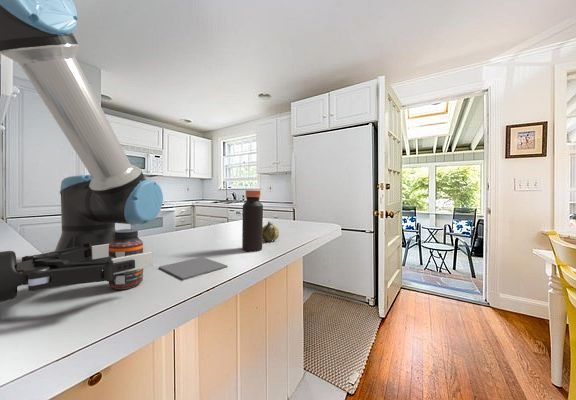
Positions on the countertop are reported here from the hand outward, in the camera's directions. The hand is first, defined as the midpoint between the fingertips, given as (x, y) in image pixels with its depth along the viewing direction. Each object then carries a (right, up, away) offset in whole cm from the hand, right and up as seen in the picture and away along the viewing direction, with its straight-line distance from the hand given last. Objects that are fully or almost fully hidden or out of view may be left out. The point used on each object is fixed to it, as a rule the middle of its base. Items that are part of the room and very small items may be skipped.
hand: (138, 252), depth 51 cm
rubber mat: (+8, -6, +10) cm, 14 cm away
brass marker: (-2, -6, -1) cm, 7 cm away
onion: (+25, -5, +44) cm, 51 cm away
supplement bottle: (-2, -6, -1) cm, 7 cm away
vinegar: (+20, -6, +30) cm, 36 cm away
